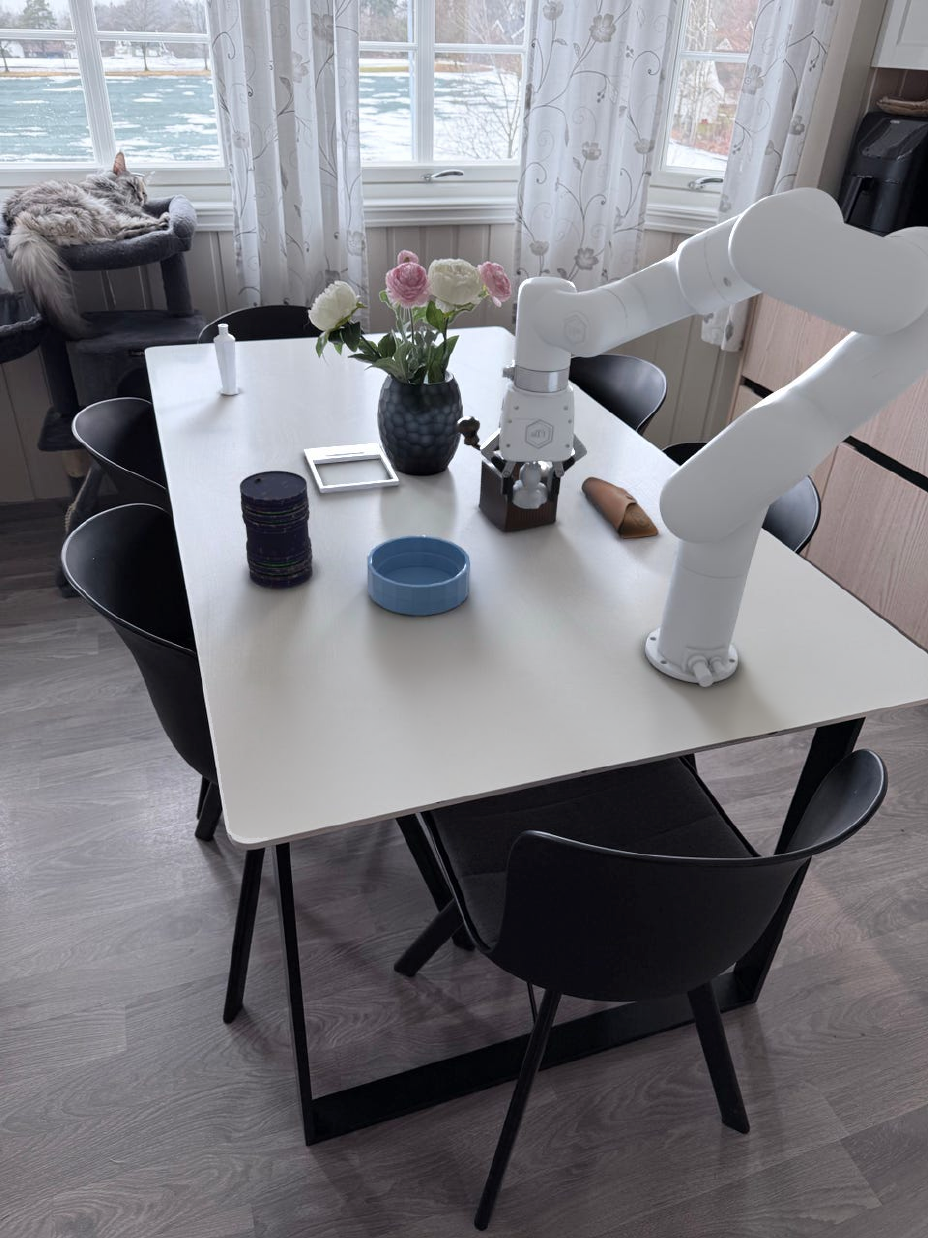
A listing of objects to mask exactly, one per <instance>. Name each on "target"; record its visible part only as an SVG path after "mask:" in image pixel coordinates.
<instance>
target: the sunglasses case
mask: <svg viewBox="0 0 928 1238" xmlns="http://www.w3.org/2000/svg"><path fill="white" fill-rule="evenodd" d="M580 489H581V491H582V493H583V494H584V495H585V496H586V497H587V498H588V500H590V502H592V504H594V506H595V507H596V509H597V510H598V511H599V512H600V514H601V515H602V516H603V518H604V519H605V520H606V521H607V522H608V524H609V525H610V527H611V528H612V529H613V531H614V532H615V533H616V534H618V536H619V538H620V539H624V540H625V539H640V538H641V539H642V538H647V537H653V536H656V535H658V534H659V530H658V527H656V525H655V524H654V522H653V520H652V519H651V517H649V515H648V514H647V513H646V512H645V510H644V509H643V508H642V507H641V506H640V504H638V500H637V499H636V498H635V497H634V496H633V495H632V494H631V493H629V492H628V491H627V490H626V489H625V488H624V487H620V486H617V485H615V484H613V483H611V482H609V481H607V480H603V479H602V478H599V477H596V476H588V477H587V478H586V479H584V481H583V482H582V484H581V488H580Z"/></svg>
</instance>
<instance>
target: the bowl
mask: <svg viewBox="0 0 928 1238" xmlns="http://www.w3.org/2000/svg"><path fill="white" fill-rule="evenodd" d="M366 565H367V568H366V569H367V592H368V595H369V596H370V598H371V599H372V601H373V602H374V603H376V604H377V605H379V606H380V607H381V608H383V609H385V610H387V611H390V612H394V613H395V614H396V613H397V614H402V615H407V616H431V615H436V614H437V615H438V614H441V613H445V612H448V611H450V610H452V609H454V608H457V607H458V606H460V604H462V603H463V602H464V601H465V600H466V598H467V596H468V594H469V591H470V574H471V573H470V572H471V562H470V556H469V555H468V553H467V552H466V551H465V549H463V548H462V547H461V546H459V545H458V544H456V543H454V542H453V541H450V540H447V539H443V538H441V537H437V536H429V535H405V536H404V535H403V536H400V537H399V536H397V537H393V538H390V539H388V540H385V541H383V542H381V543H379V544H378V545H376V546H375V547H374V548H373V547H372V549H371V550H370V552H369V554H368V555H367V564H366Z"/></svg>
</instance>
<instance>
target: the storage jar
mask: <svg viewBox="0 0 928 1238" xmlns="http://www.w3.org/2000/svg"><path fill="white" fill-rule="evenodd" d="M239 492H240V507H241V509H240V510H241V512H242V514H241V517H242V521H243V524H244V525H245V532H246V539H247V540H246V542H245V550H246V562H247V566H248V569H249V571H248V573H249V579H250V580H251V581H252V582H253V583H254V584H255V585H257V586H259V587H262V588H265V589H271V590H285V589H291V588H295V587H299V586H300V585H303V584H304V583H307V582H308V581H309V580H310V579H311V578H312V576H313V547H312V546H313V545H312V540H311V537H310V535H309V533H310V532H309V519H310V514H311V513H310V509H309V508H310V501H309V500H310V499H309V496H308V495H309V494H308V481H307V480H306V478H305V477H303V476H302V475H300V474H298V473H295V472H292V471H286V470H268V471H267V470H266V471H261V472H257V473H253V474H251V475H249V476H246V477H245V478H244V479H242V481H240V483H239Z"/></svg>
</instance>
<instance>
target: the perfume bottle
mask: <svg viewBox="0 0 928 1238" xmlns="http://www.w3.org/2000/svg"><path fill="white" fill-rule="evenodd" d="M217 327H218V335H217V336H215V337H213V344H214V350H215V354H216V359H217V365H218V370H219V377H220V381H221V391H220V393H221V394H223V395H227V396H233V395H236V394H237V395H238V394H239V393H240V391H239V388H238V385H237V364H236V363H237V360H236V338H235V337H234V336H233V335H232V334H230V333H229V330H228V329H229V325H228V324H227V323H220V324H218V325H217Z"/></svg>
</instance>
